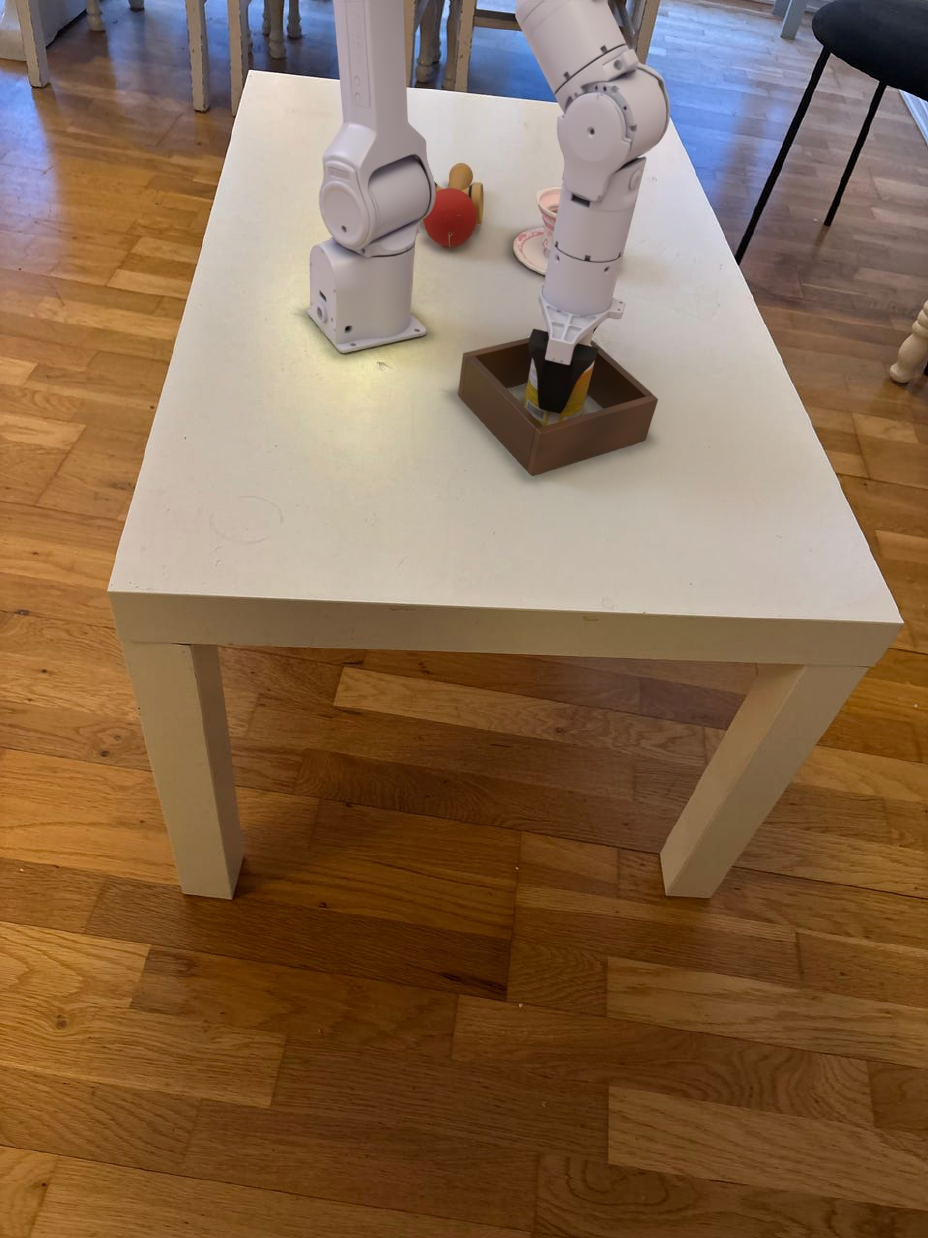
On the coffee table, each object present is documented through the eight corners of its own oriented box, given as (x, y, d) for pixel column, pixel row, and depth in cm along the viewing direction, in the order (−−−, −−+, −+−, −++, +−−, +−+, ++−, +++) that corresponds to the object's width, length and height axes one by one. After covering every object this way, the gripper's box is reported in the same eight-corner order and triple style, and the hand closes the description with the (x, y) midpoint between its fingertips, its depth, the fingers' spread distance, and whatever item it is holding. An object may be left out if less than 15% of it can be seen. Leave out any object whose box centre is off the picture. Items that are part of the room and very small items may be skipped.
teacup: (493, 258, 103) (501, 203, 98) (540, 221, 110) (549, 168, 105) (589, 294, 99) (602, 239, 95) (631, 253, 107) (644, 201, 102)
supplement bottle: (580, 404, 86) (602, 310, 78) (579, 439, 82) (603, 344, 75) (523, 396, 86) (540, 301, 78) (520, 430, 82) (538, 334, 75)
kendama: (421, 193, 114) (405, 240, 101) (435, 140, 110) (420, 182, 97) (480, 214, 115) (472, 263, 102) (496, 162, 111) (490, 206, 98)
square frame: (531, 476, 78) (540, 433, 75) (457, 395, 85) (462, 352, 81) (645, 440, 83) (658, 399, 80) (567, 366, 90) (576, 325, 86)
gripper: (626, 300, 66) (587, 448, 76) (648, 216, 76) (611, 358, 86) (532, 278, 67) (506, 429, 77) (565, 198, 77) (538, 341, 87)
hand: (556, 390), depth 82 cm, fingers closed on supplement bottle, 5 cm apart
